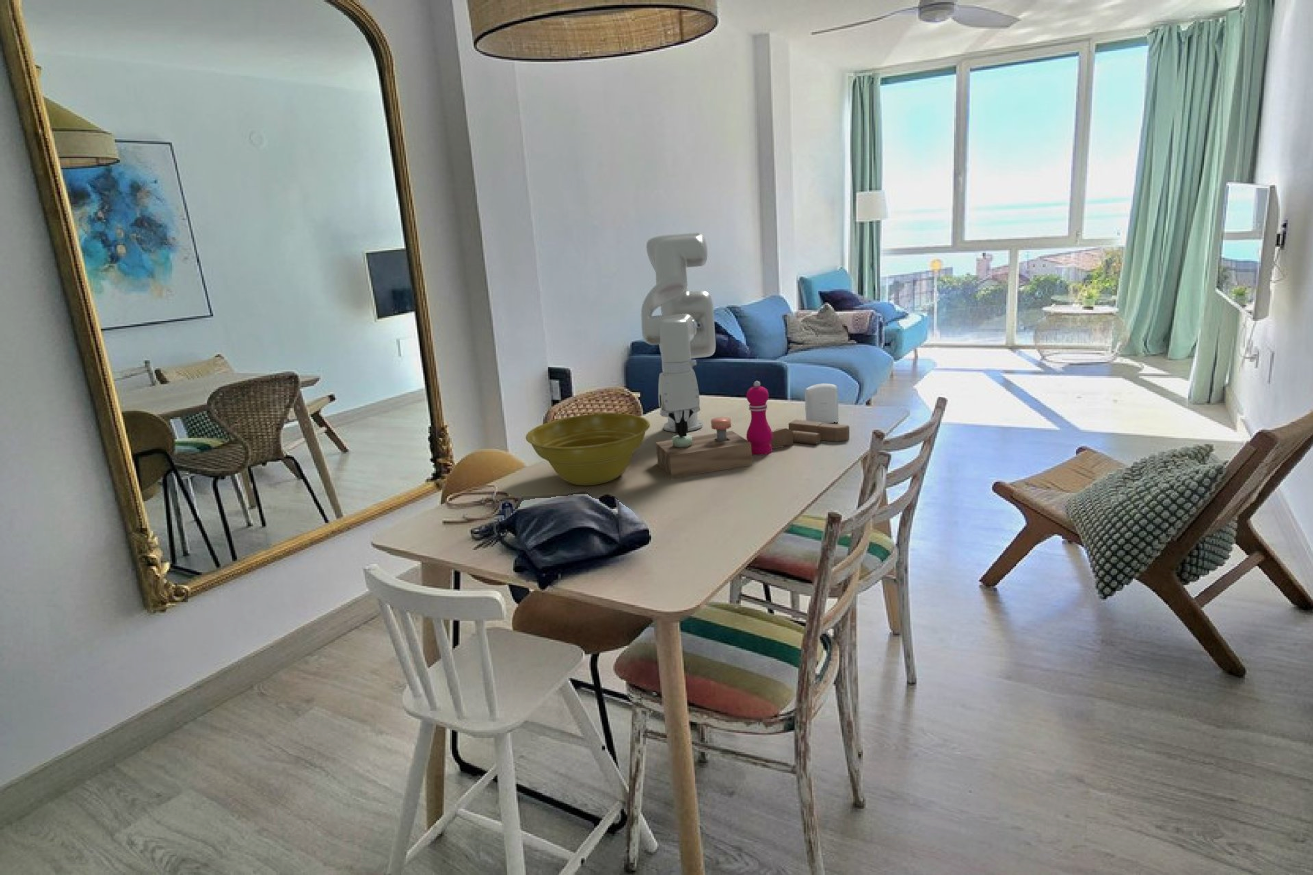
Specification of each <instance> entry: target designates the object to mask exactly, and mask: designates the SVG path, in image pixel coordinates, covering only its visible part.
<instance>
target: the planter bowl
mask: <svg viewBox="0 0 1313 875" xmlns="http://www.w3.org/2000/svg"><path fill="white" fill-rule="evenodd" d="M650 427H651V422H650V421H649V420H648V419H647V418H644V417H643V416H642V417H641V416H639V415H635V414H629V413H619V412H617V413H616V412H614V413H613V412H610V413H609V412H608V413H607V412H601V413H589V414H582V415H575V416H569V417H564V418H560V419H555V420H552V421H548V422H545V423H542V424H541V425H539V426H535V427H534V428H533V429H531V430H530V431H528V432H527V433H526V435H525V441H527V442H528V443H529V444H531V446H532V448H533V450H534V451H535V453H536V454H537V455H538V457H540V458H542V459H544V460H545V461H547V462H548V463H549V465H550V466H551V467H552V469H553V470H554V471H555V473H556V474H557V475H558V477H560V478H561V479H562V480H563V481H565V482H567V483H569V484H572V485H577V486H594V485H601V484H605V483H610V482H612V481H614V480H615V479H618V477H619V476H621V475H622V474H623V473H624V472H625V471H626V469H627V467H628V466H629V464H630V460H631V459H632V455H633V454H634V453H633V452H634V451H635V450H637V448H639V447H640V446H641V445H642V443H643V441H644V438H645V435H646V432H647V431H648V430H649V428H650Z"/></svg>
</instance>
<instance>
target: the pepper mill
mask: <svg viewBox="0 0 1313 875" xmlns="http://www.w3.org/2000/svg"><path fill="white" fill-rule="evenodd" d="M769 394H770V393H769V391H768V389H767V388H765V386H761V382H760V380H759V381H758V380H756V381H754V382H753V387H750V388H749V389H748V390H747V392H746V400H747V402H748V403H749V405H748V410H749V411H750V415H751V418H750V419H751V420H750V423H749V425H748V428H747V431H746V438H745V439H746V440H747V441H749V442H750V443H751V453H752V455H757V456H760V455H762V456H763V455H768V454H770V453H772V451H773V450H772V449H773V448H771V444H769V443H770V442H771V440H772V438H773V435H772V431H773V430H772V428H771V426H770V424H769V422H768V420H767V414H766V413H767V410H768V403H767V402H768V400H769V398H770V395H769Z"/></svg>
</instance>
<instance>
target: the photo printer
mask: <svg viewBox="0 0 1313 875" xmlns="http://www.w3.org/2000/svg"><path fill="white" fill-rule="evenodd" d="M804 407H805V408H804V409H805V421H815V422H823V423H828V424H835V423H838V422H839V391H838V387H837V385H835V384H832V383H817V384H813V385H811V386H809V387H806V388H805V390H804ZM834 422H835V423H834Z"/></svg>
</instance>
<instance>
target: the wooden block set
mask: <svg viewBox="0 0 1313 875" xmlns="http://www.w3.org/2000/svg"><path fill="white" fill-rule="evenodd" d="M772 435H773V438H772V440H771V442H770V443H769V444H771V449H776V447H777V448H782V447H781V446H784V447H791V446H794V443H798V444H799V443H800V444H806V445H807V444H810V445H817V446H818V445H819V444H820V443H821V441H826V442H835V443H838V442H846V441H848V440H850V425H847V424H838V423H837V424H836V423H823V422H815V421H806V419H805V420H804V419H803V420H802V419H794V420H792V421H790V422H788V428H787V427H785V428H783V427H782V428H776V429H774V430H772Z"/></svg>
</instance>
